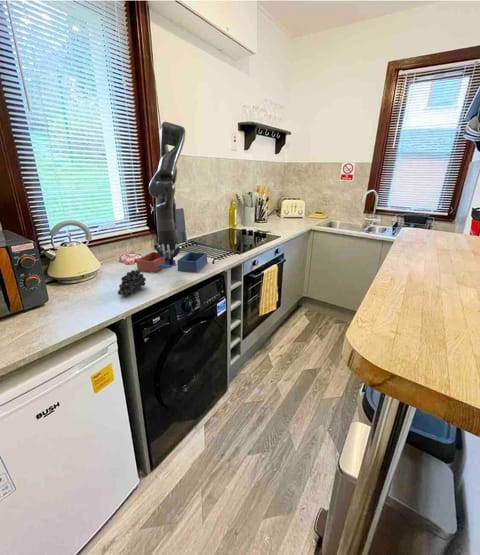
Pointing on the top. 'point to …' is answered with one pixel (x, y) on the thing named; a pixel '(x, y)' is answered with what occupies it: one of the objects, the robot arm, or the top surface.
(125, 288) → the fruit
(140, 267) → the red bin
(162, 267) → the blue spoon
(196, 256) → the blue bin
